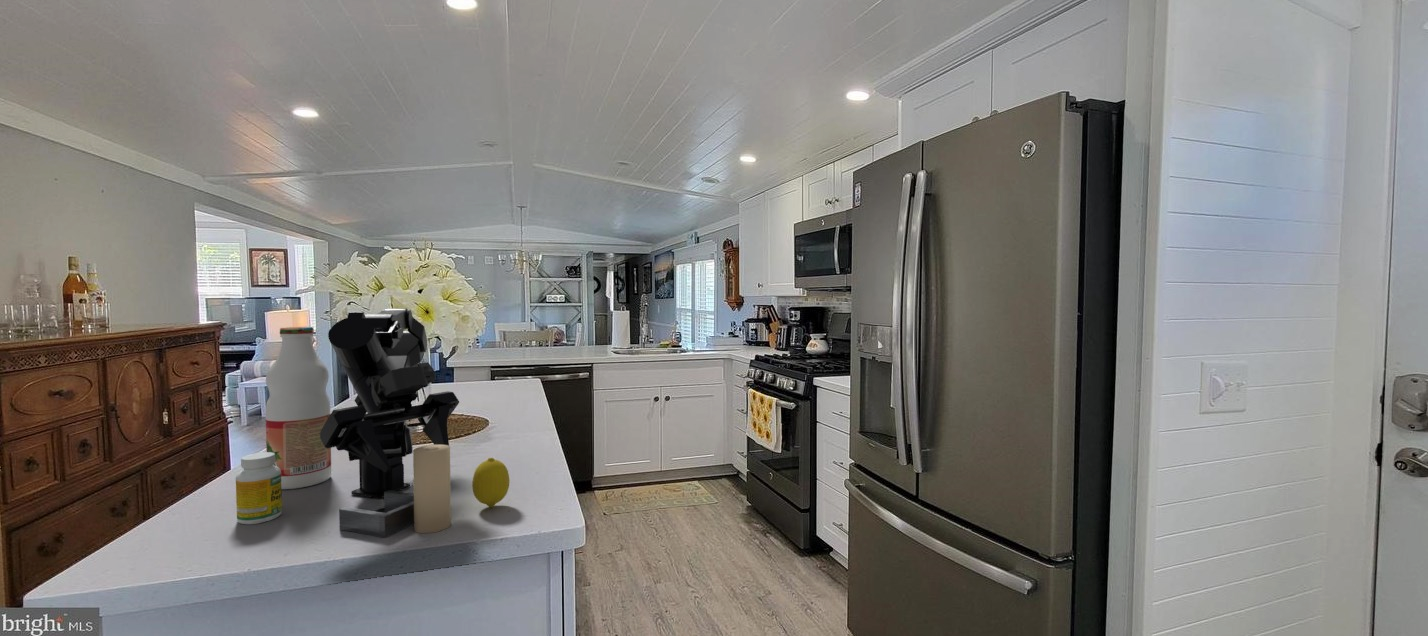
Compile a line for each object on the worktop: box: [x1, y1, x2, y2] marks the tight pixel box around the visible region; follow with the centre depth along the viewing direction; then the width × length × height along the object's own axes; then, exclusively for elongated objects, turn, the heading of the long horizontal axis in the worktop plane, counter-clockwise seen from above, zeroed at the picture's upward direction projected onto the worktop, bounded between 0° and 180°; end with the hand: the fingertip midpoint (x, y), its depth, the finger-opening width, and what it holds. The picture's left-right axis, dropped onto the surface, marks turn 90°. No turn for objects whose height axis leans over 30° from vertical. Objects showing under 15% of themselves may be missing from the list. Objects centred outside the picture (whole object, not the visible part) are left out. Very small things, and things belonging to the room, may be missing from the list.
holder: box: [338, 490, 414, 539], centre depth 84 cm, size 8×8×3 cm
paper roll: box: [412, 444, 452, 534], centre depth 83 cm, size 5×5×12 cm
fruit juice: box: [264, 326, 332, 490], centre depth 102 cm, size 9×9×28 cm
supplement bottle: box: [235, 451, 283, 525], centre depth 85 cm, size 5×5×10 cm
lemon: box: [471, 457, 510, 508], centre depth 90 cm, size 6×6×8 cm
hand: (419, 461), depth 83 cm, fingers open, 9 cm apart
